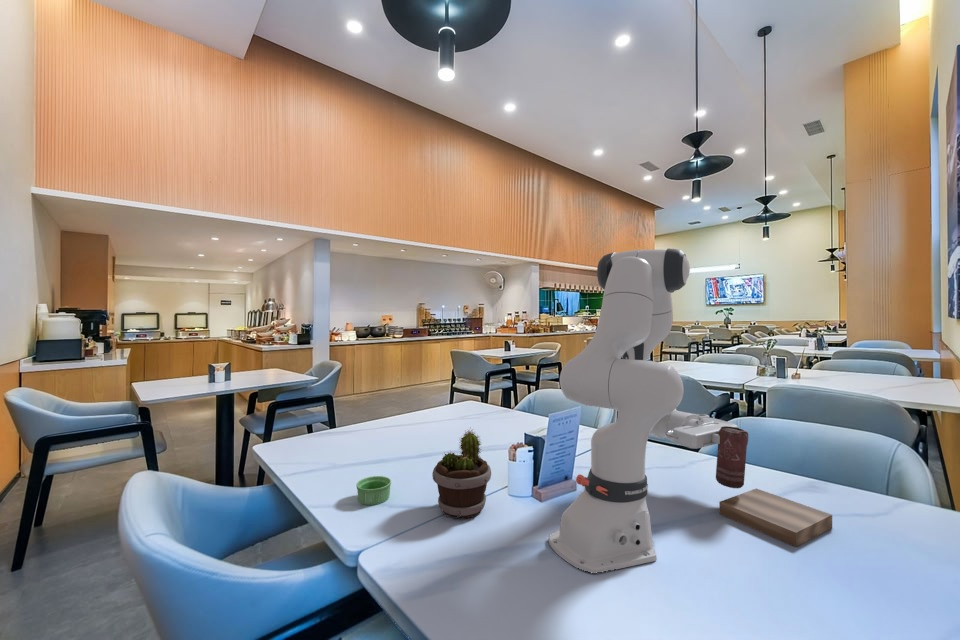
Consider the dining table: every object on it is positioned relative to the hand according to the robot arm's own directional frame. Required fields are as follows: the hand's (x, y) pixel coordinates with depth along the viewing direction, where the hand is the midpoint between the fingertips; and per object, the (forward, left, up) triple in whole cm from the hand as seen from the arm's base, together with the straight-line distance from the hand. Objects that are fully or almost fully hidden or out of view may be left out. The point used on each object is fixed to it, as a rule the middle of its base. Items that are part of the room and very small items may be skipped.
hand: (737, 442), depth 100 cm
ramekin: (-79, +49, -17) cm, 95 cm away
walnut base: (+1, -8, -17) cm, 18 cm away
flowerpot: (-61, +32, -17) cm, 71 cm away
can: (0, +2, -11) cm, 11 cm away
